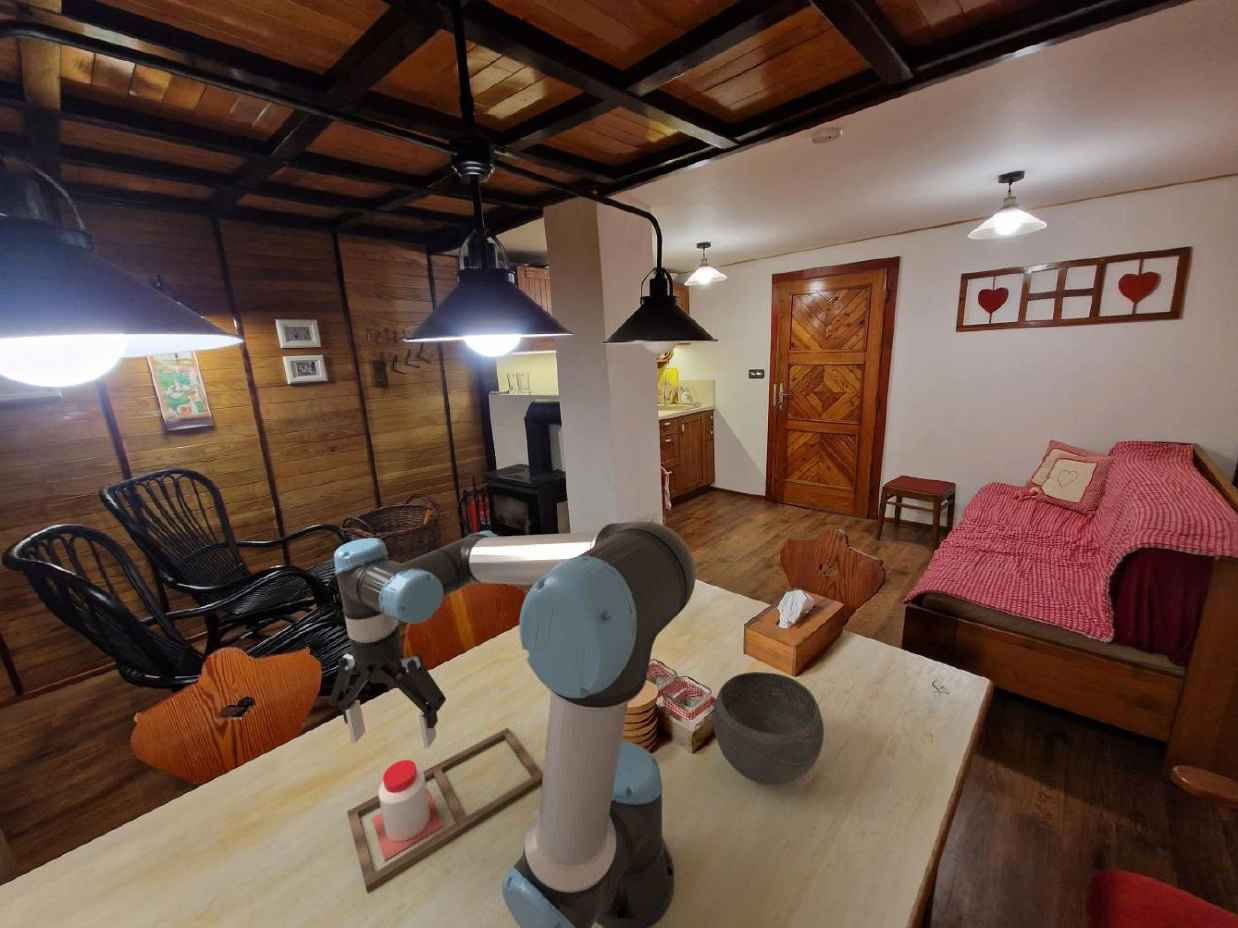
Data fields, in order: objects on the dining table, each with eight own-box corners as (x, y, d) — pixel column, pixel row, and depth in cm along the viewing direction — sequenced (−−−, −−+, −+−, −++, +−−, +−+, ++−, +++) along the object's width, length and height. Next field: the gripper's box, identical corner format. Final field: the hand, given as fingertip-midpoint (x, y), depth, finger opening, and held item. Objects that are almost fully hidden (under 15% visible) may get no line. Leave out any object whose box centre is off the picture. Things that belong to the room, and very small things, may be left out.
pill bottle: (414, 845, 86) (405, 794, 84) (375, 837, 88) (366, 787, 85) (438, 805, 94) (431, 757, 91) (402, 799, 95) (394, 752, 93)
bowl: (826, 744, 105) (830, 682, 101) (812, 828, 87) (817, 758, 83) (729, 713, 115) (730, 656, 111) (699, 783, 97) (699, 718, 93)
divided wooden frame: (544, 781, 98) (544, 776, 98) (367, 892, 79) (365, 886, 79) (508, 731, 112) (507, 727, 111) (348, 816, 93) (347, 811, 92)
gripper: (455, 620, 84) (470, 727, 88) (322, 617, 87) (343, 719, 92) (433, 646, 76) (451, 761, 81) (289, 641, 80) (314, 751, 85)
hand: (394, 739), depth 86 cm, fingers open, 13 cm apart
